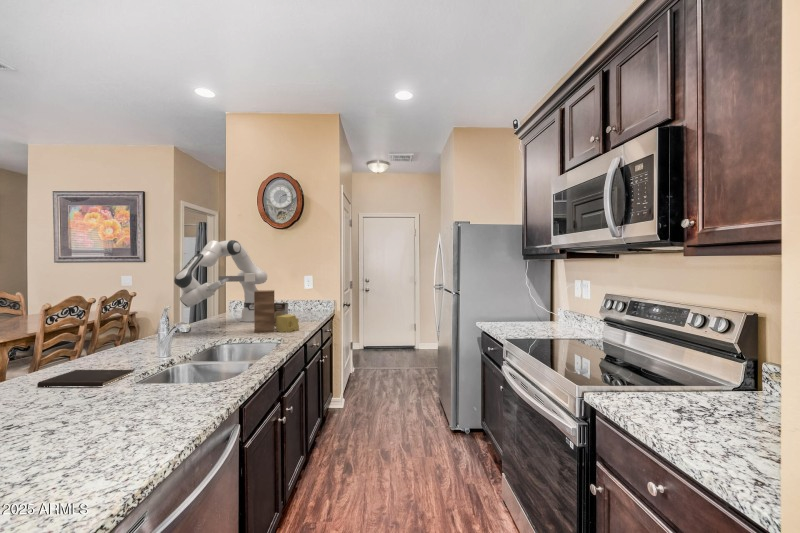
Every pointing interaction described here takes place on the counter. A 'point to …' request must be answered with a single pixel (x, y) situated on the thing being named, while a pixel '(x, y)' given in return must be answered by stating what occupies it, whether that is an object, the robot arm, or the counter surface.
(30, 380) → the counter surface
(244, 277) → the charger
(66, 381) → the hardcover book
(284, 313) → the coffee box
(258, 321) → the stand
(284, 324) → the cheese
